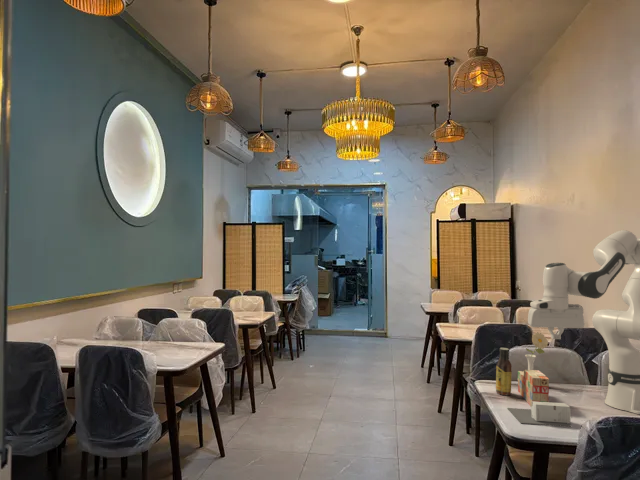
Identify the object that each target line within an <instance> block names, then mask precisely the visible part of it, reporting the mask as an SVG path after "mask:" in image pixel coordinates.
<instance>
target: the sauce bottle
mask: <svg viewBox="0 0 640 480" xmlns="http://www.w3.org/2000/svg"><path fill="white" fill-rule="evenodd" d="M498 351H499V357H498V361H497V362H496V367H495V369H496V370H495V371H496V372H495V392H496V394H498V395H500V396H501V395H502V396H511V394H512V393H511V392H512V375H513V374H512V372H513V371H512V363H511V361H510V349H509V348H507V347H500V348H499V350H498Z"/></svg>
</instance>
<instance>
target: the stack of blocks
mask: <svg viewBox="0 0 640 480" xmlns="http://www.w3.org/2000/svg"><path fill="white" fill-rule="evenodd" d="M517 379H518V380H517V392H518V393H519V394H520V395H521V396H522V398H523V399H524V400H525V401H526V402H527V403H528V404H529V406H530V408H531V407H532V401H536V402H549V399H550V397H549V393H550V379H549V377H548V376H546V374H544V373H543V372H542V371H540V370H538V369H537V370H536V369H533V370H528V369H523V371H522V370H517Z"/></svg>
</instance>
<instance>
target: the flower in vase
mask: <svg viewBox="0 0 640 480" xmlns="http://www.w3.org/2000/svg"><path fill="white" fill-rule="evenodd" d="M531 341H532V344H533V345H534V346H535V349H534V351H533V350H531V349H529V348H527V347H526V348H525V350H526V351H527V352H529V353H531V354H525V355H524V356H525V357H526V360H527V370H534V362H535V360H536V359H537V355H535V354H534V353H535V352H537V353H538V354H545V348H547V347H549V340H548V339H547V337H546V336H545V334H543V333H542V332H540V333H539V332H535V333H534V334H532V337H531ZM517 381H518V378H517Z"/></svg>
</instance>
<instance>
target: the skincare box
mask: <svg viewBox="0 0 640 480" xmlns="http://www.w3.org/2000/svg"><path fill="white" fill-rule="evenodd" d="M530 409H531V412H532V418H533V419H535V420H536V421H546V422H561V423H568V424H571V416H572V415H571V406H570V405H568V404H567V403H565V402H550V401H548V402H536V401H532V407H531V406H530Z"/></svg>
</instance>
